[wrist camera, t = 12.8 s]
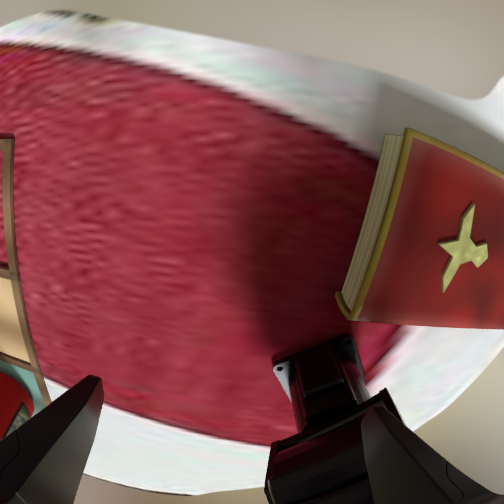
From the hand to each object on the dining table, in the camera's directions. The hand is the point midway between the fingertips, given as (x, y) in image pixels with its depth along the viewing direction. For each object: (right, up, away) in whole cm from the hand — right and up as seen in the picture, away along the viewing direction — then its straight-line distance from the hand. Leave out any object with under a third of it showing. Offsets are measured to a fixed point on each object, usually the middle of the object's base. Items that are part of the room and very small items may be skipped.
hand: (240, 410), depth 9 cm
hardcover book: (+18, +6, +12) cm, 22 cm away
